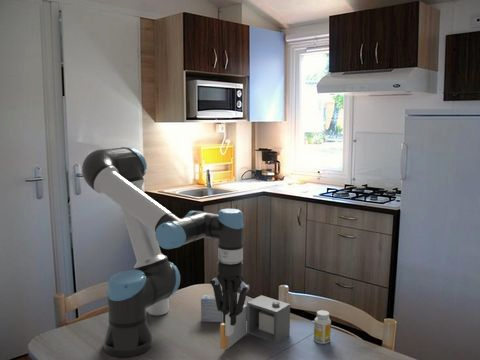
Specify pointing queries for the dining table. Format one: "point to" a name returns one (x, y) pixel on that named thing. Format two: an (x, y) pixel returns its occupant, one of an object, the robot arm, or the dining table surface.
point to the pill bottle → (159, 307)
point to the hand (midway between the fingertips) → (229, 333)
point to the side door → (238, 330)
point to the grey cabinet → (268, 319)
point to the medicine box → (210, 309)
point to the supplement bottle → (322, 327)
